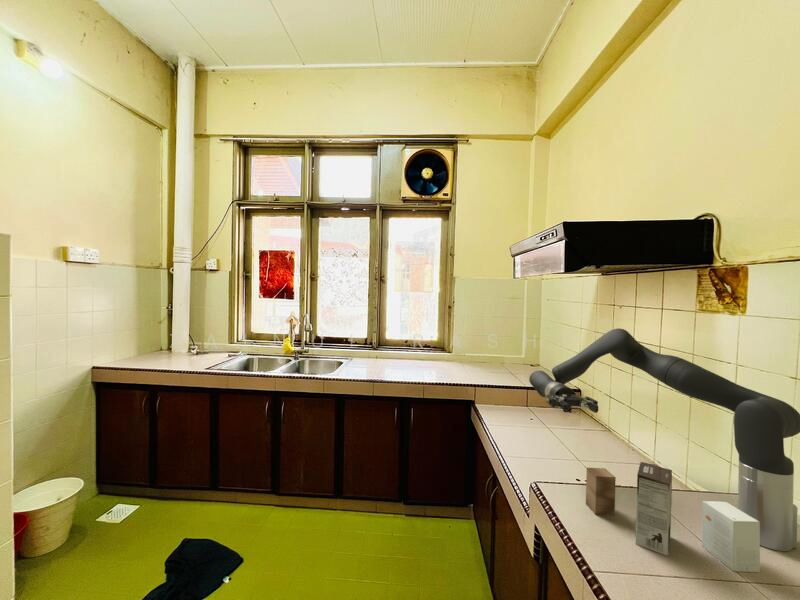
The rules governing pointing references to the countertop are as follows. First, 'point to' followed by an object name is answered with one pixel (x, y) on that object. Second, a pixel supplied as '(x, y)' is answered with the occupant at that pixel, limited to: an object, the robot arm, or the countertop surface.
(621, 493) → the countertop surface
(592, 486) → the walnut block
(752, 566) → the small box
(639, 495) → the coffee box
